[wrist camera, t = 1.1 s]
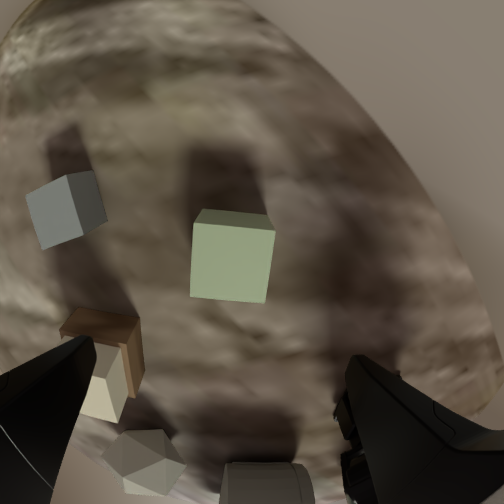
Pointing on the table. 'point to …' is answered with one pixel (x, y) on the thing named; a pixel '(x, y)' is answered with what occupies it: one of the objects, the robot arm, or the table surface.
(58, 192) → the slate cube
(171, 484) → the die
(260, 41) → the table surface
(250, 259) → the sage cube
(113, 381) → the tower top
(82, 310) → the tower base
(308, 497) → the alarm clock
